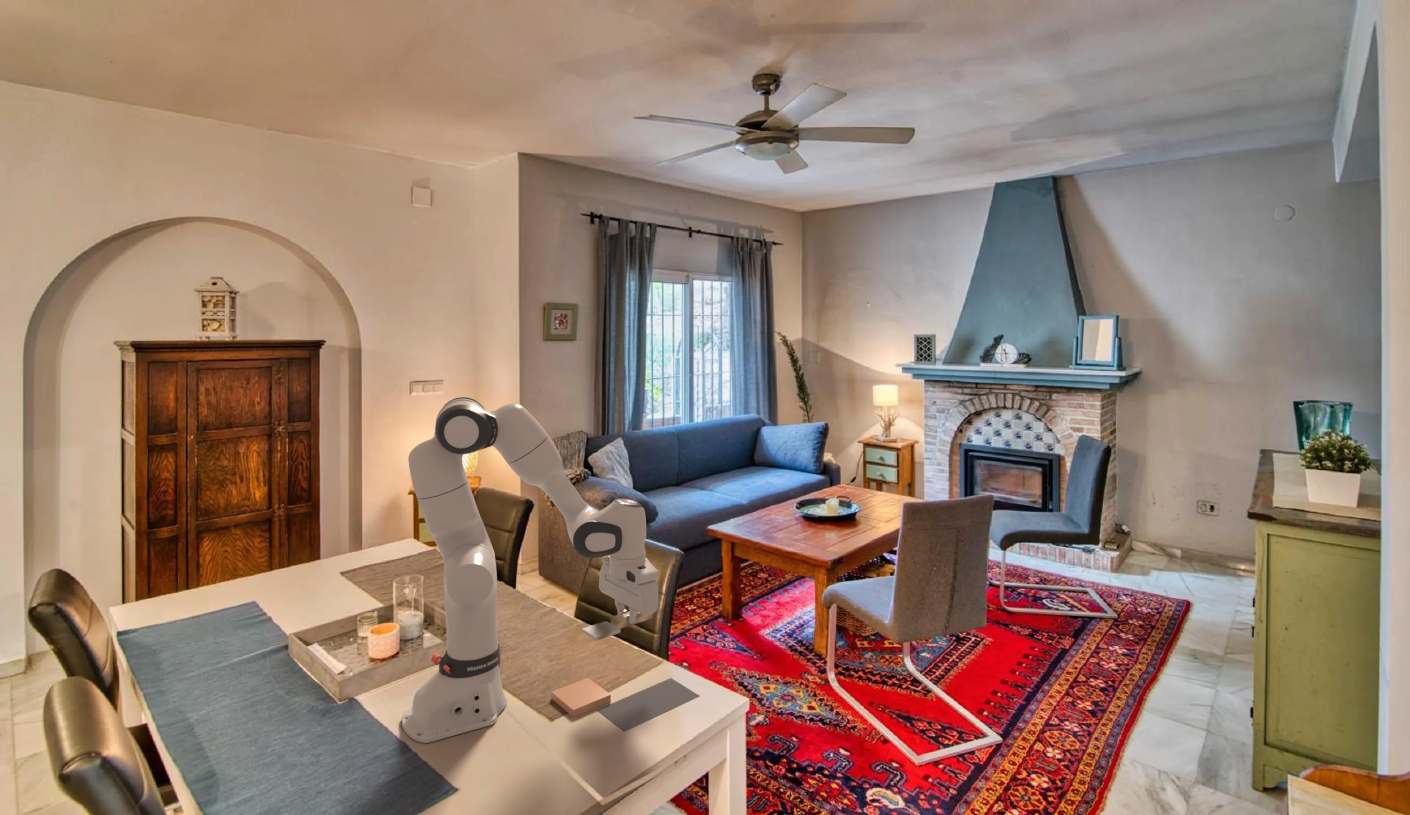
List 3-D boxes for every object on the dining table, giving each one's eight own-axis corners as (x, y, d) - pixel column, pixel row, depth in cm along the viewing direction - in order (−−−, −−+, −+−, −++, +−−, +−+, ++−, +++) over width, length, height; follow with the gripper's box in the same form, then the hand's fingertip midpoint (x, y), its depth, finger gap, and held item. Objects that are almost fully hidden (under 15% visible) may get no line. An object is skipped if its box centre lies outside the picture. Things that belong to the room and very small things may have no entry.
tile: (610, 705, 159) (573, 721, 153) (587, 688, 167) (551, 702, 160) (610, 694, 159) (573, 709, 152) (587, 677, 166) (551, 691, 160)
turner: (595, 640, 157) (595, 630, 157) (581, 631, 161) (581, 622, 161) (657, 620, 169) (657, 611, 169) (642, 612, 173) (642, 603, 173)
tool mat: (624, 734, 147) (624, 731, 147) (596, 712, 155) (596, 709, 155) (700, 698, 162) (700, 695, 162) (670, 680, 170) (670, 677, 170)
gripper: (593, 556, 170) (592, 609, 172) (641, 580, 155) (641, 637, 157) (613, 551, 175) (613, 603, 176) (663, 574, 160) (662, 630, 161)
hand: (626, 619), depth 166 cm, fingers closed on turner, 2 cm apart
